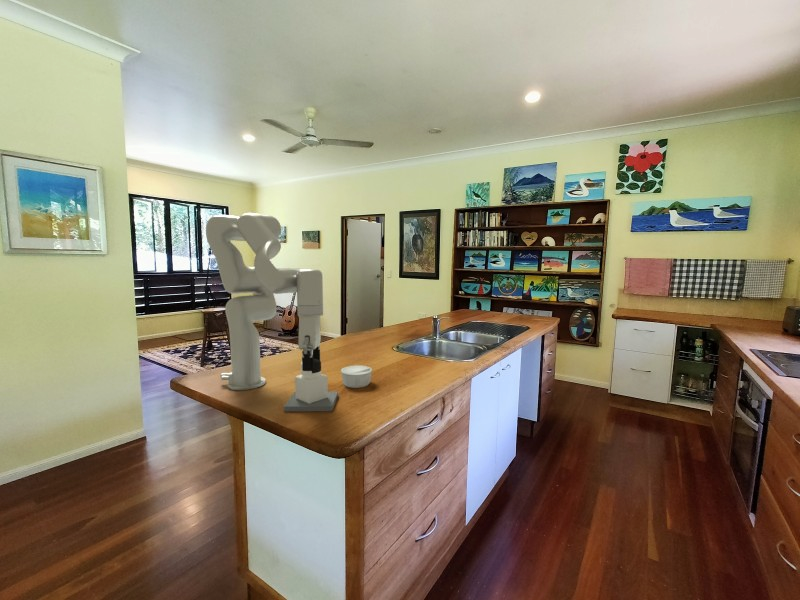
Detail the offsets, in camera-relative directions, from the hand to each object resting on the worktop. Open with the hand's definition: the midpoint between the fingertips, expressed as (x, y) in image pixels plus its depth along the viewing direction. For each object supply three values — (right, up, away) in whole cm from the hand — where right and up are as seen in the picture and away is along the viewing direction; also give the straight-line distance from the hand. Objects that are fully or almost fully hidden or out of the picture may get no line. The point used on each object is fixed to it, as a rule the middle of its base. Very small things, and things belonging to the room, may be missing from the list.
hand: (311, 366), depth 109 cm
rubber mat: (0, -12, +1) cm, 12 cm away
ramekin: (+11, -10, +20) cm, 25 cm away
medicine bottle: (0, -10, +1) cm, 11 cm away
